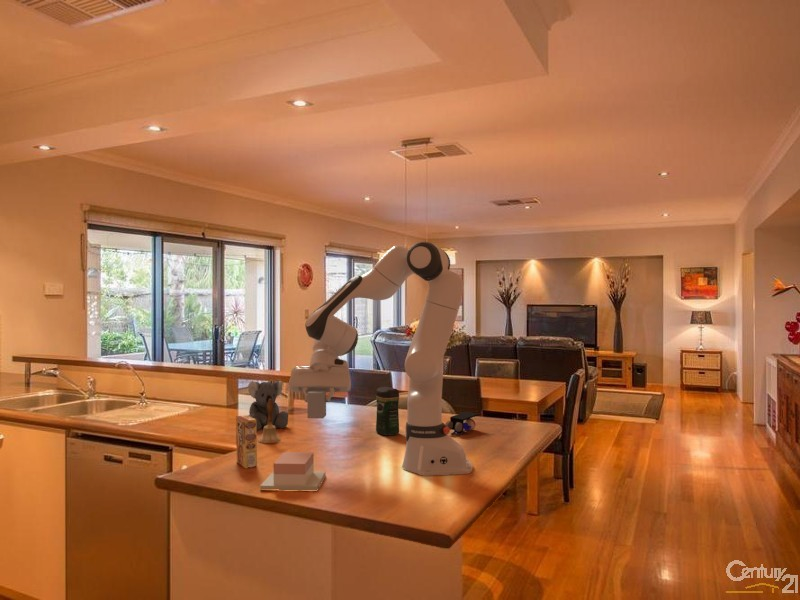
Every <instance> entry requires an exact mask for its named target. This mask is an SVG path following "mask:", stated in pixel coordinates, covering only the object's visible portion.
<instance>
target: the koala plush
mask: <svg viewBox="0 0 800 600" xmlns="http://www.w3.org/2000/svg"><path fill="white" fill-rule="evenodd" d="M283 386H284V381H281V380H277V381H275V382H270V381H263V382H257V381H254V380H251V381H250V382H249V383H248V384H247V389H248V391H247V392H248V394H249V395H250V396H251V398H253V399H255V401H253V402H252V403H251V404H250V406H249V411H248V413H249V414H247V415H248V416H250V417H252V418H254V419H256V420H257V421H256V423H257V431H259V430H261V429H262V428H264V426H266V425H267V423H268V413H267V403H268V400H269V399H272V401H273V405H274V409H273V413H272V425H274V426H275V427H276V429H284V428H287V426H288V423H289V412H287V411H280V408H279V405H278V404H277V402H276V400H277V397H278V396H280V394H281V392H283V391H282V390H283Z"/></svg>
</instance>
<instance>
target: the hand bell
mask: <svg viewBox="0 0 800 600" xmlns="http://www.w3.org/2000/svg"><path fill="white" fill-rule="evenodd" d="M273 409H274V405H273V401H272V399H269V400H268V403H267V413H268V423H267V425H266V424H265V425H263V431H262V434H261V437H260V438H259V439H258V440H257V442H258V443H261V444H276V443H279V442H281V438H280V437H279V435H278V433H277V428H276V427H275V426H274V425H272V413H273Z"/></svg>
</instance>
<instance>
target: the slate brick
mask: <svg viewBox="0 0 800 600" xmlns="http://www.w3.org/2000/svg"><path fill="white" fill-rule="evenodd" d="M325 395H327V392H326V390H311V391H309V392H308V393H307V402H306V403H307V407H306V408H307V413H306V414H307V419H325V417H326V416H327V402H325Z"/></svg>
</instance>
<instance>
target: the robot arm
mask: <svg viewBox="0 0 800 600" xmlns="http://www.w3.org/2000/svg"><path fill="white" fill-rule="evenodd" d="M450 268H451V259H450V257H449V255H448V253H447V252H446V251H445V250H444V249H443V248H442V247H440V246H438V245H437V244H434V243H432V242H429V241H420V242H417V243H415V244H413V245H412V246H411V247H410V248H409V249H408V248H407V247H405V246H403V245H397V244H396V245H394V246H392V247H391V248H389V249H388V250H387V251H386V252H385V253H384V254H383V255H382V256H381V257H380V258H379V259H378V260H377V262H376V263H375V264H374V266H373V267H372V268H371V269H369V271H367V272H366V273H364V274H361V275H355V276H353V277H351V278H350V279H349V280H348V281H346V282H345V283H344V284H343V285H341V287H340V288H339V289H338V290H337V291H335V293H334V294H333V295H331V296H330V297H329V298H328V299H327V300H326V301H325V302H324V303H323V304H322V305H321V306H319V307H318V308H317V309H316V310H314V311H313V312H312V313H310V314H309V316H308V317H307V319H306V321H305V325H304V326H305V331H306V333H307V336H308V337H309V338H311V339H314V341H313V347H312V352H313V353H312V354H311V358H310V363H309V366H305V365H304V366H299V365H298V366H296V367H294V368H292V369H291V371H290V377H289V381H288V388H289V390H290V391H291V392H292V393H293V392H294V393H303V396H304V402H305V403H307V393H308V392H309V391H311V390H326V393H328V394H326V395H325V402H326V403H331V398H333V397H334V395H335V394H336V393H348V392H350V391H351V387H352V383H351V382H352V380H351V374H350V367H349V363H348V361H347V360H345V359H341V358H338V357H342V356H345V355H347V354H349V353H351V352H352V351H354V350H355V348H356V347H357V345H358V340H359V333H358V330H357V328H355V327H354V326H352V325H351V324H349V323H348V322H346V321H344V320H342V319H340V318H338V317H337V316H335V315H336V314H337V313H338V312H339V311H340V310H341V309H342V308H343V307H344V306H345V305H347V303H348V302H350V301H351V300H353V299H368V300H374V301H385V300H388V299H390V298H392V297H393V296H394V295H395V294H396V293H397V292H398V291H399V289H400V288H401V287H402V286H403V284H404V283H405V281H406V280H407V279H408V278H409V277H410V276H412V275H417V276H418V277H420V278H421V279H423V280H424V281H426V282H427V283H428V290H427V294H426V297H425V301H424V304H423V307H422V311H421V313H420V317H419V320H418V324H417V326H416V329H415V331H414V334H413V337H412V340H411V342H410V345H409V348H408V352H407V354H406V357H405V361H404V370H405V373H406V375H407V377H409V379H408V390H407V398H406V399H407V408H406V409H407V411H406V412H407V413H406V414H407V417H406V418H407V422H406V423H405V441H406V445H405V451H404V452H405V453H404V458H403V462H402V465H401V468H402V469H404V470H405V471H408V472H412V473H414V474H417V475H420V476H422V475H423V477H424V476H425V475H430V476H447V475H449V474H452V475H467V474H470V473H472V472H473V469H474V466H473V463H472V462H471V461H470V460H469V459H467V457H466V452H465V449H464V447H463V446H462V445H461V444H460V443H459V442H458V441H456V440H455V439H454V438H453V437H452V436H450V435H449V434H450V432H451V430H450V429H449V427H448V426H447V425H446V423H444V422H443V421H442V417H443V416H442V413H443V412H442V410H443V408H442V404H443V401H442V400H443V399H442V398H443V381H444V378H443V377H444V356H445V353H446V350H447V347H448V345H449V342H450V339H451V337H452V334H453V333H452V332H453V329H454V326H455V323H456V319H457V316H458V313H459V309H460V307H461V302H462V298H463V291H464V280H463V278H462V277H461V276H460V275H459V274H458V273H457V272H454V271H451V270H450Z"/></svg>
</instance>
